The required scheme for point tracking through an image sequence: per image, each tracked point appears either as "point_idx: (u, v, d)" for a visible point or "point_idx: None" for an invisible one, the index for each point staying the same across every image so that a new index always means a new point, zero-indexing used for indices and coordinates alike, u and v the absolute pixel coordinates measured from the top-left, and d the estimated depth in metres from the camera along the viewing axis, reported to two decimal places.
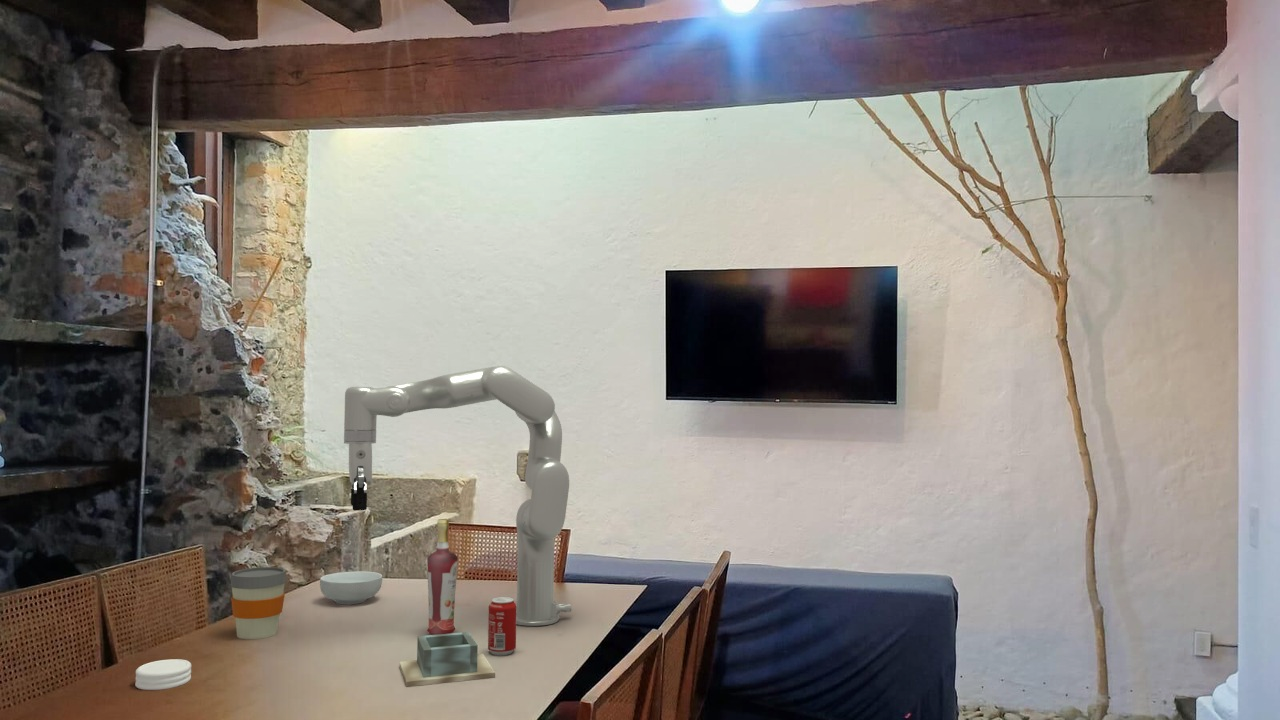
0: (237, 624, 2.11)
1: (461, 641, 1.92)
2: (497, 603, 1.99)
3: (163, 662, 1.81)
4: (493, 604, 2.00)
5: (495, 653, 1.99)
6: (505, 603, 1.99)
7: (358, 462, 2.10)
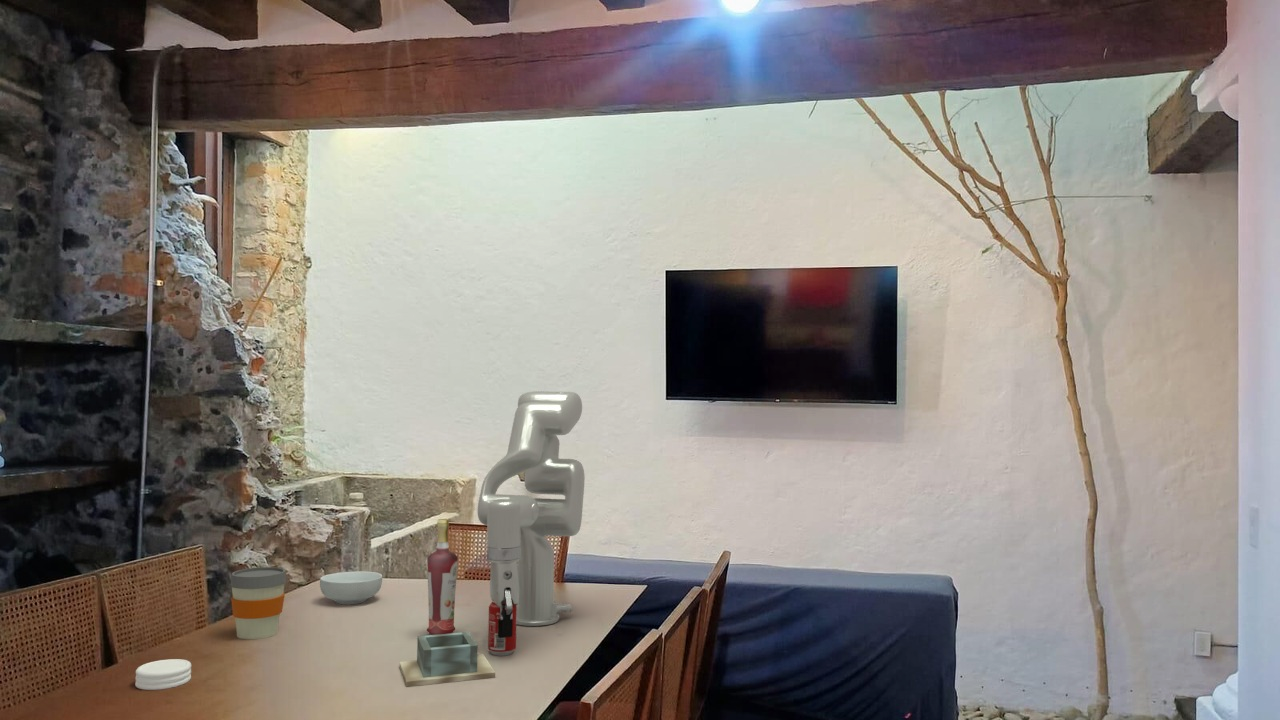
0: (237, 624, 2.11)
1: (461, 641, 1.92)
2: None
3: (163, 662, 1.81)
4: (493, 604, 2.00)
5: (495, 653, 1.99)
6: None
7: (505, 583, 1.97)
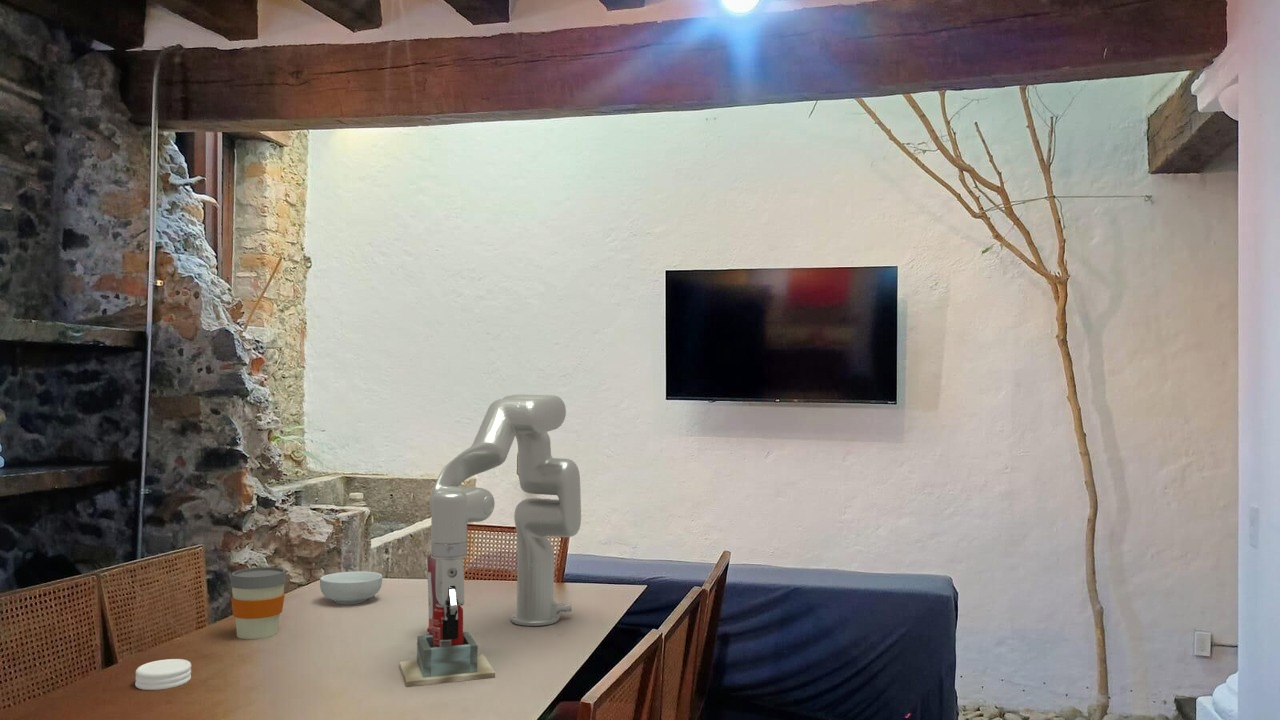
0: (237, 624, 2.11)
1: None
2: (442, 607, 1.85)
3: (163, 662, 1.81)
4: (437, 608, 1.86)
5: None
6: None
7: (449, 581, 1.83)
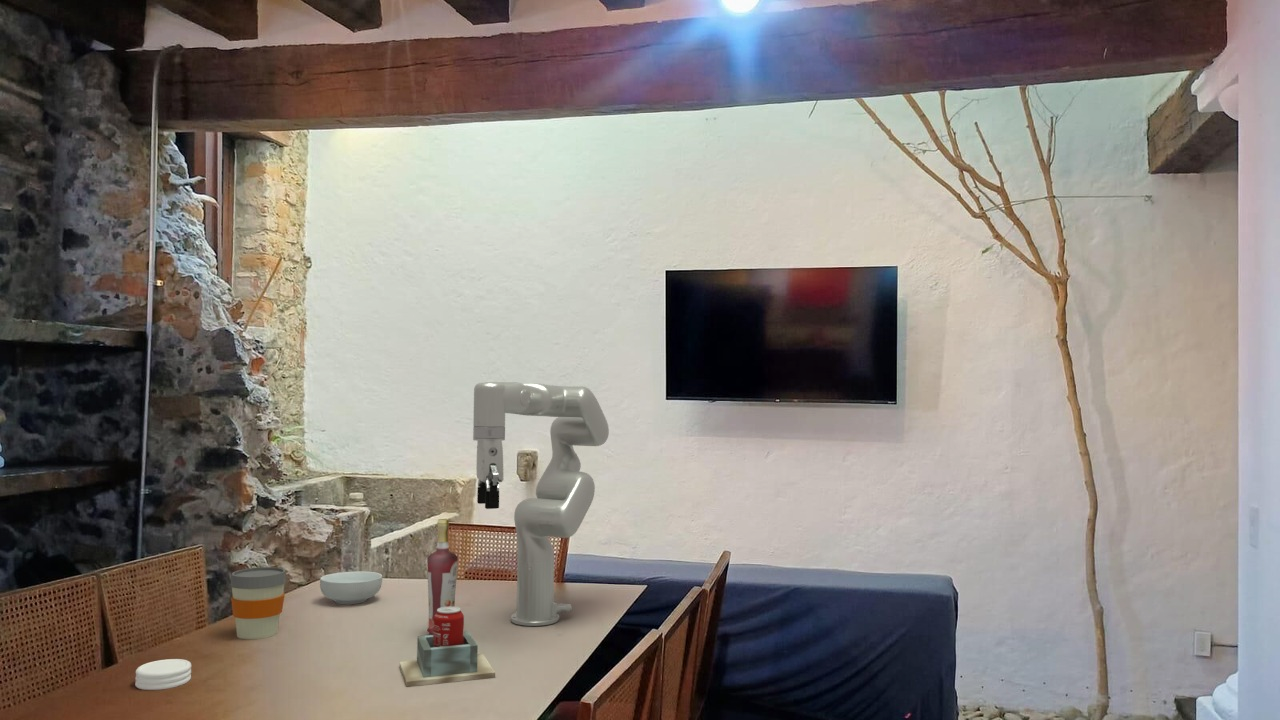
0: (237, 624, 2.11)
1: None
2: (443, 613, 1.86)
3: (162, 662, 1.81)
4: (438, 614, 1.86)
5: None
6: (451, 613, 1.86)
7: (490, 459, 2.06)
